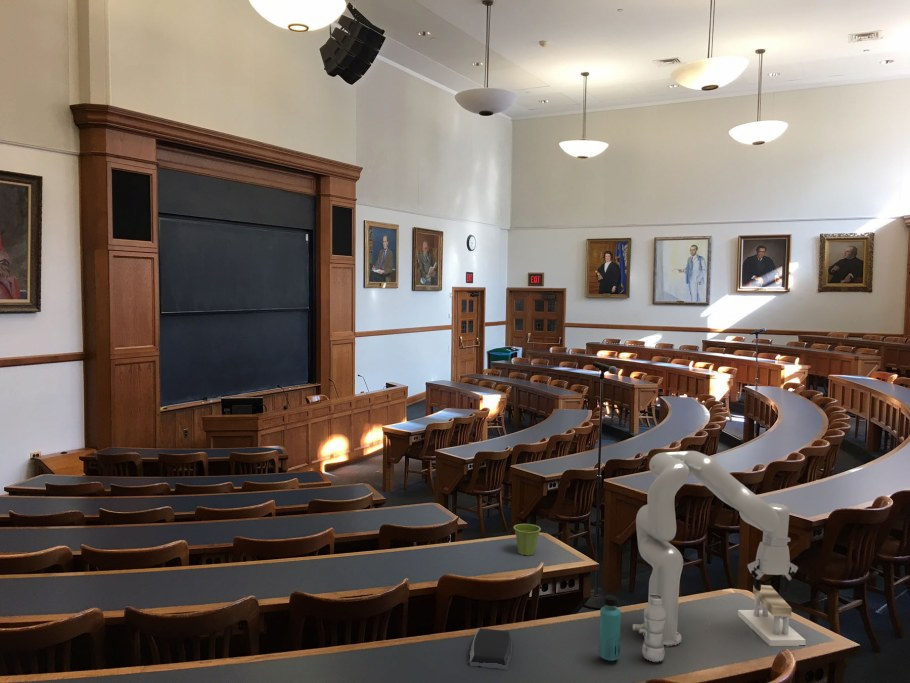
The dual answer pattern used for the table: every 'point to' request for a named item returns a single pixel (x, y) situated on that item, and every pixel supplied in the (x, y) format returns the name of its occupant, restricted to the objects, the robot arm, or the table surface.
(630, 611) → the table surface
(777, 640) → the peg stand
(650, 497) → the robot arm
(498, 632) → the external hard drive
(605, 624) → the beverage bottle
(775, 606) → the shelf board
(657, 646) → the plastic bottle
